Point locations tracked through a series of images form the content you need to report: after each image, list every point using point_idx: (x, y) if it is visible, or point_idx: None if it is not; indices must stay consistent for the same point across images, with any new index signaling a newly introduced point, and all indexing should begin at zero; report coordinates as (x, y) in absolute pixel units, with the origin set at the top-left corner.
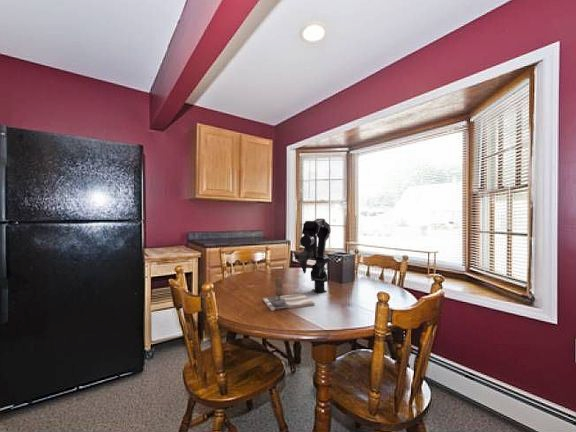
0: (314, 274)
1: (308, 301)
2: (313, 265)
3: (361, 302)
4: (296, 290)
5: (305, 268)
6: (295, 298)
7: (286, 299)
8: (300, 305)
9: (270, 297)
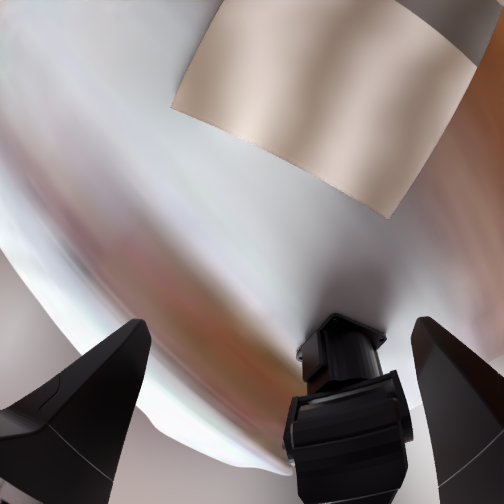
0: (367, 412)
1: (225, 97)
2: (395, 482)
3: (80, 320)
4: (464, 278)
5: (432, 396)
6: (358, 85)
7: (392, 27)
8: (222, 7)
9: (491, 17)
